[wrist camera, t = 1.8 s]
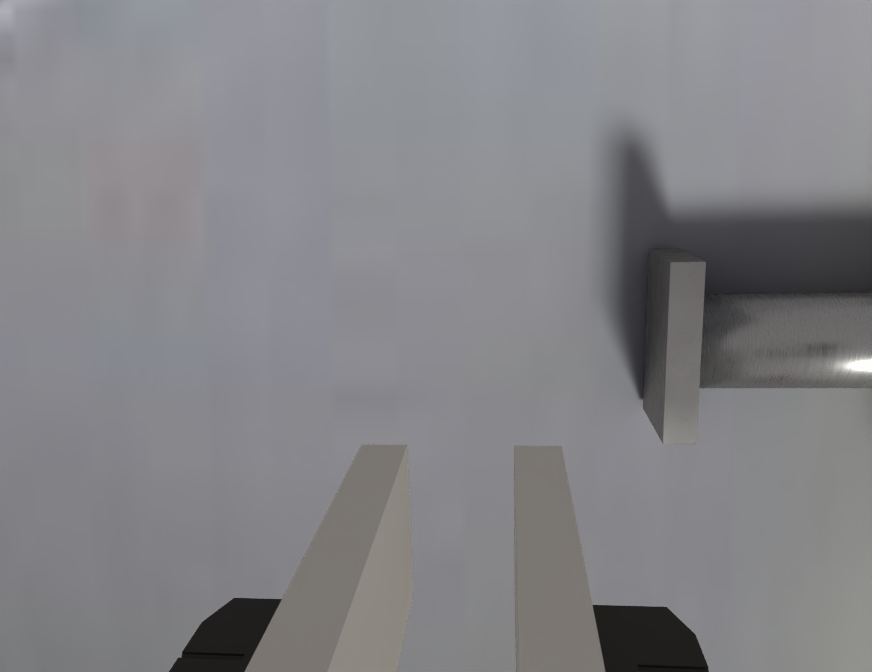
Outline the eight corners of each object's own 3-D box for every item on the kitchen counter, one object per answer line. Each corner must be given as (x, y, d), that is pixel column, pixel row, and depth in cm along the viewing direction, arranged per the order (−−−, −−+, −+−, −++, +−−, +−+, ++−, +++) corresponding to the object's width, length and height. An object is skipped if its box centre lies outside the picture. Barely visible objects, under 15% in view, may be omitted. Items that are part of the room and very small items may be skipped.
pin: (643, 408, 26) (662, 443, 23) (648, 249, 25) (670, 262, 22) (1039, 409, 25) (1120, 446, 22) (1066, 241, 24) (1157, 254, 20)
